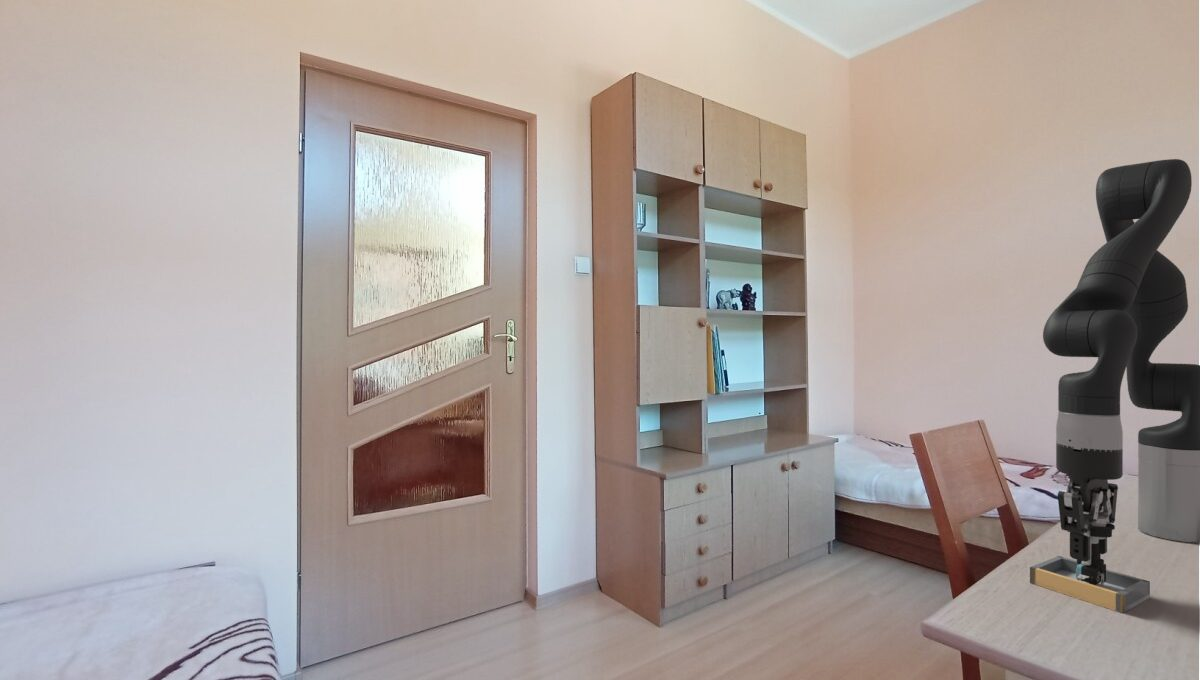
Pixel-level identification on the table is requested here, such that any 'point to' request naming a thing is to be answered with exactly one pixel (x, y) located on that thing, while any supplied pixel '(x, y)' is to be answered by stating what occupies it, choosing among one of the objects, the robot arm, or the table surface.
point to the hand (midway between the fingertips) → (1088, 555)
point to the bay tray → (1112, 594)
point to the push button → (1095, 553)
